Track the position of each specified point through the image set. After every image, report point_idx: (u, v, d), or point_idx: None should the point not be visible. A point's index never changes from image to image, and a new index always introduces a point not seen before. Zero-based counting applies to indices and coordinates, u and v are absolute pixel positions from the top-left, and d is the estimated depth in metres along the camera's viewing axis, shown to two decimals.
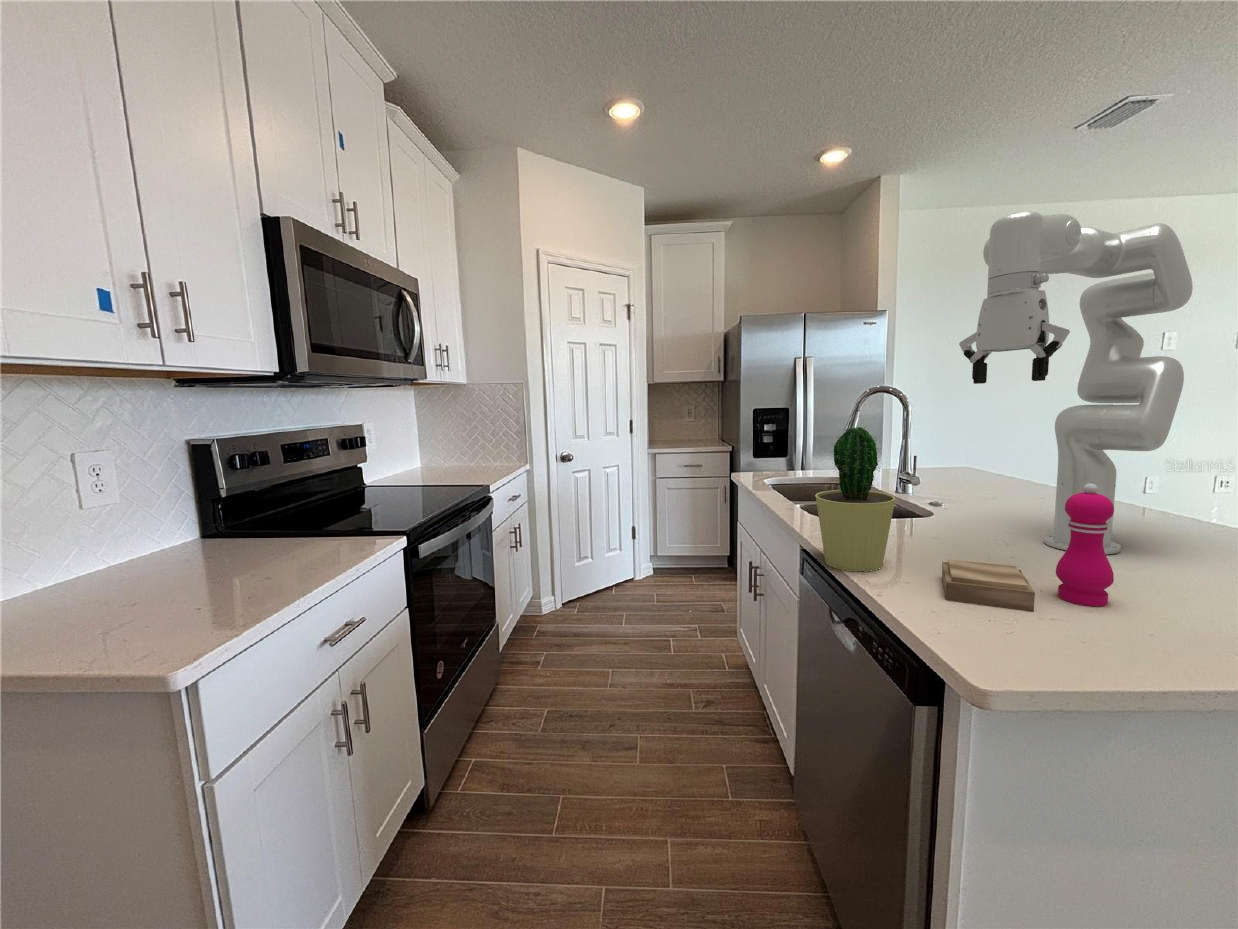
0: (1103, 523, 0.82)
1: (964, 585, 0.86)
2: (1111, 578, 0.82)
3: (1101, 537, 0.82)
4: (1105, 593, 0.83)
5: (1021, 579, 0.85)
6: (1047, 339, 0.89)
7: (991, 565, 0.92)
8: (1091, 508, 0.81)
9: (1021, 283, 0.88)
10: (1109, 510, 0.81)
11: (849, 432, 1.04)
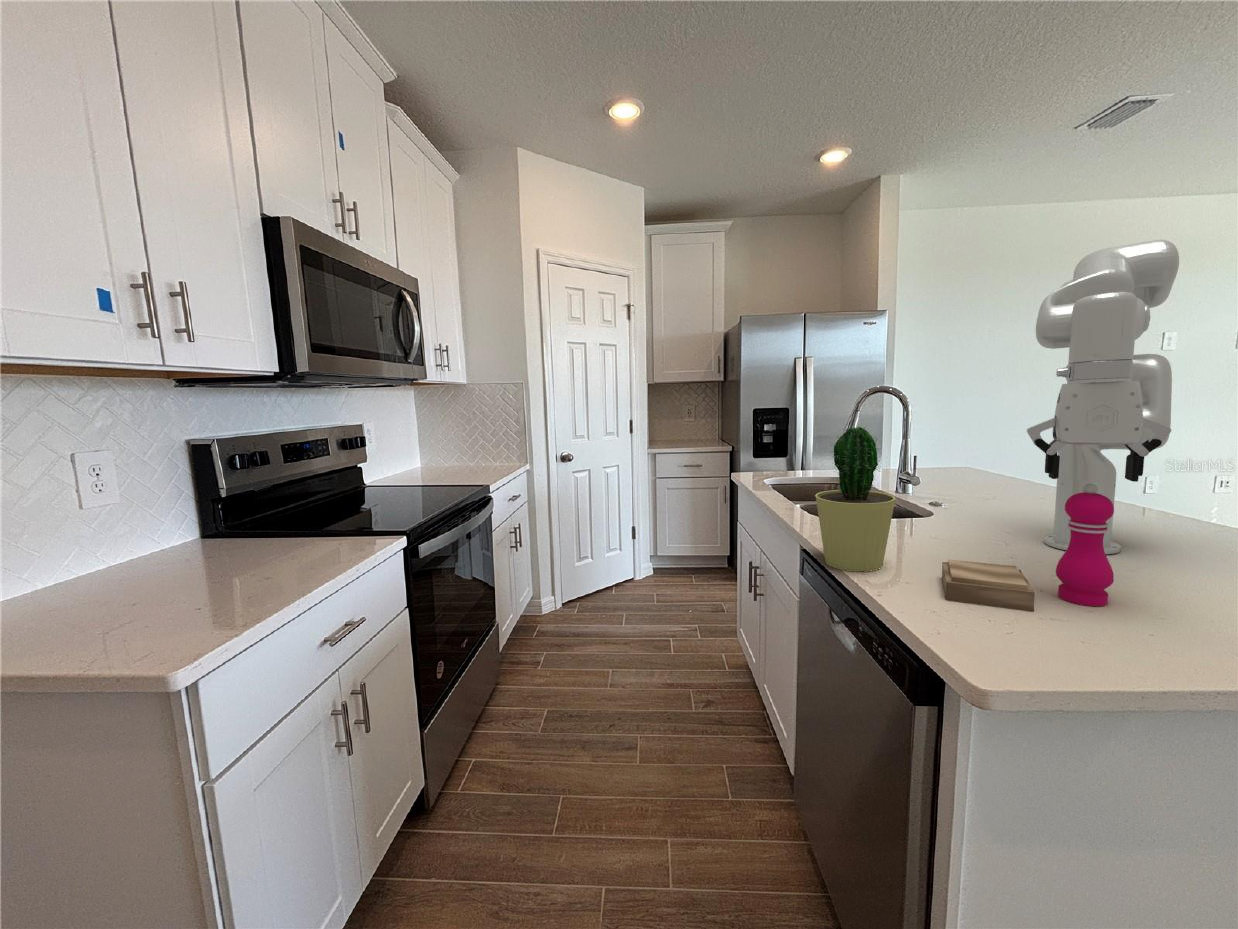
0: (1103, 523, 0.82)
1: (964, 585, 0.86)
2: (1111, 578, 0.82)
3: (1101, 537, 0.82)
4: (1105, 593, 0.83)
5: (1021, 579, 0.85)
6: (1057, 436, 0.83)
7: (991, 565, 0.92)
8: (1091, 508, 0.81)
9: None
10: (1109, 510, 0.81)
11: (849, 432, 1.04)
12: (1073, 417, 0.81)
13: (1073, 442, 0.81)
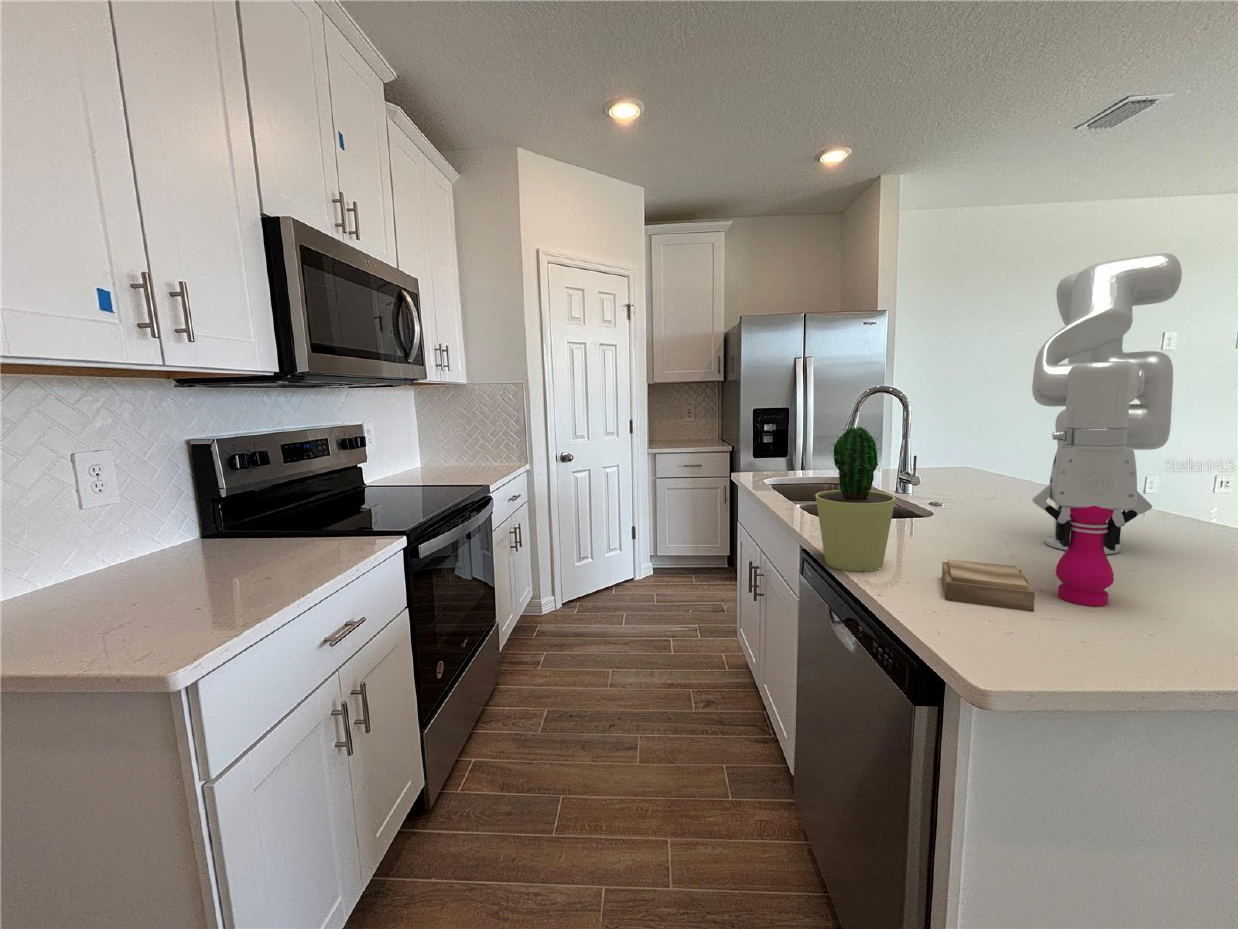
0: (1103, 523, 0.82)
1: (964, 585, 0.86)
2: (1111, 578, 0.82)
3: (1101, 537, 0.82)
4: (1105, 593, 0.83)
5: (1021, 579, 0.85)
6: (1053, 498, 0.84)
7: (991, 565, 0.92)
8: (1091, 508, 0.81)
9: None
10: (1109, 510, 0.81)
11: (849, 432, 1.04)
12: (1068, 481, 0.82)
13: (1069, 506, 0.83)
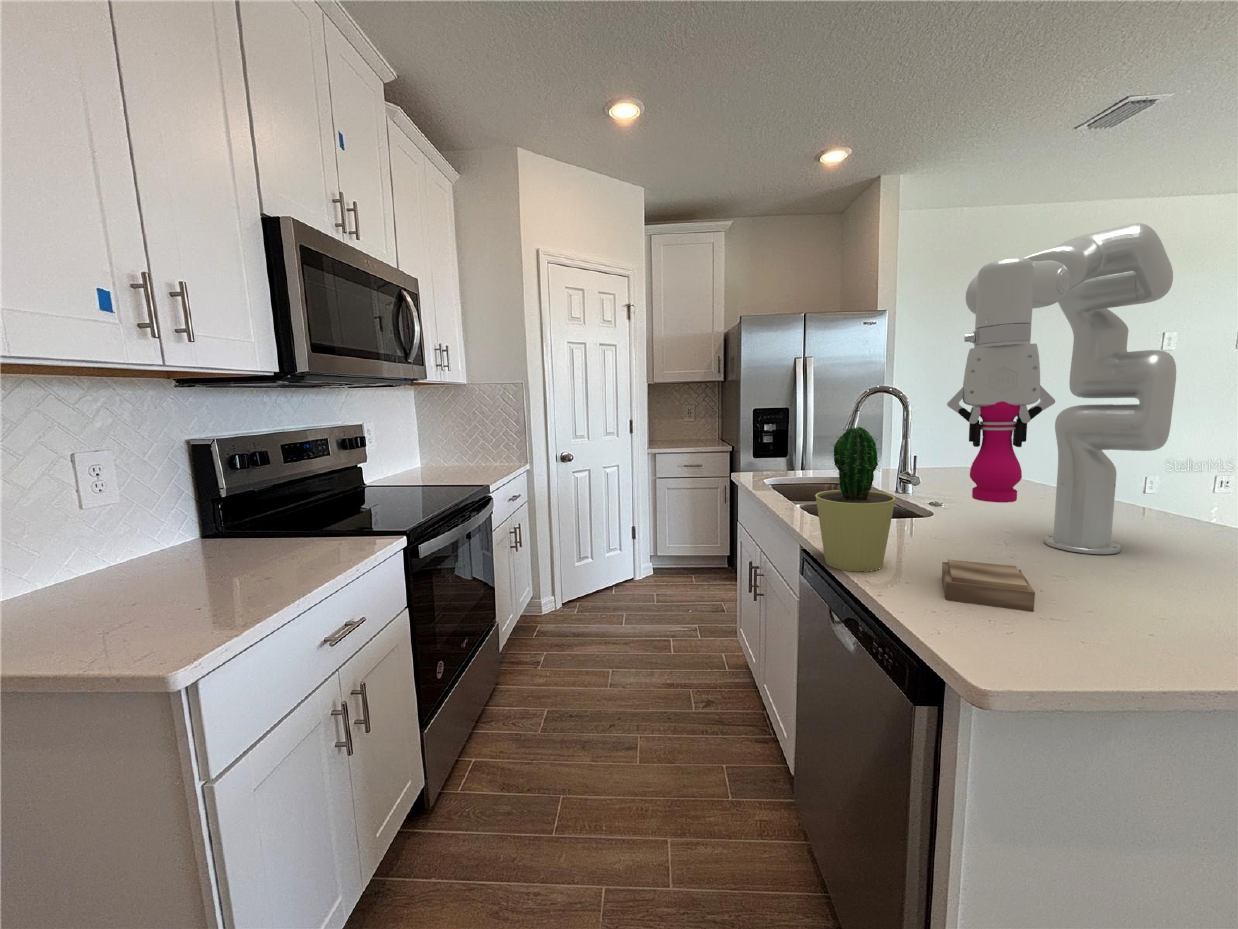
0: (1011, 420, 0.84)
1: (964, 585, 0.86)
2: (1018, 474, 0.84)
3: (1009, 434, 0.84)
4: (1014, 490, 0.85)
5: (1021, 579, 0.85)
6: (964, 399, 0.86)
7: (991, 565, 0.92)
8: (998, 404, 0.83)
9: None
10: (1016, 406, 0.82)
11: (849, 432, 1.04)
12: (977, 380, 0.84)
13: (978, 404, 0.85)
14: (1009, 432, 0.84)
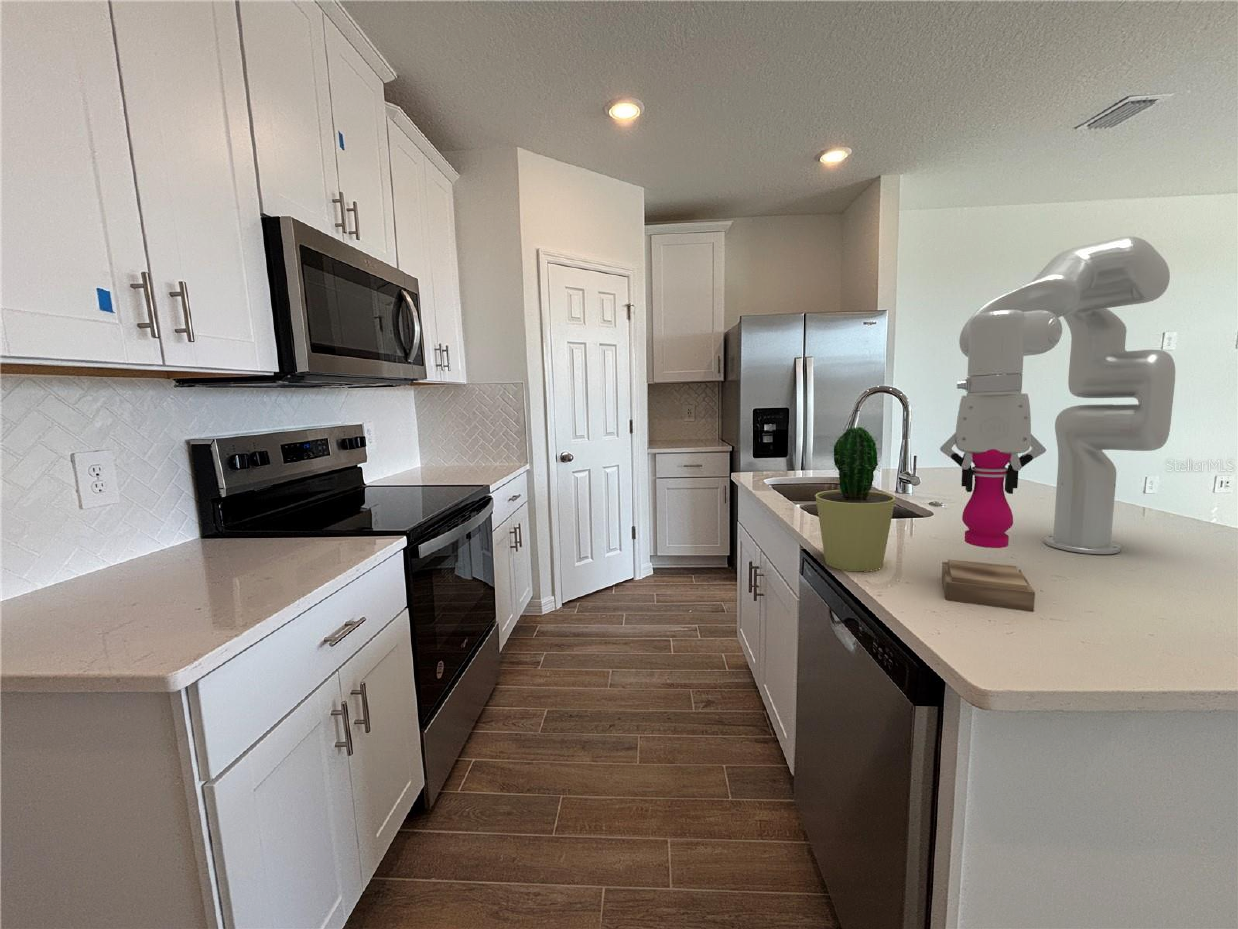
0: (1002, 467, 0.85)
1: (964, 585, 0.86)
2: (1009, 520, 0.85)
3: (1000, 481, 0.85)
4: (1005, 536, 0.86)
5: (1021, 579, 0.85)
6: (956, 445, 0.87)
7: (991, 565, 0.92)
8: (989, 452, 0.84)
9: None
10: (1007, 454, 0.84)
11: (849, 432, 1.04)
12: (969, 427, 0.85)
13: (970, 451, 0.86)
14: (1000, 479, 0.85)
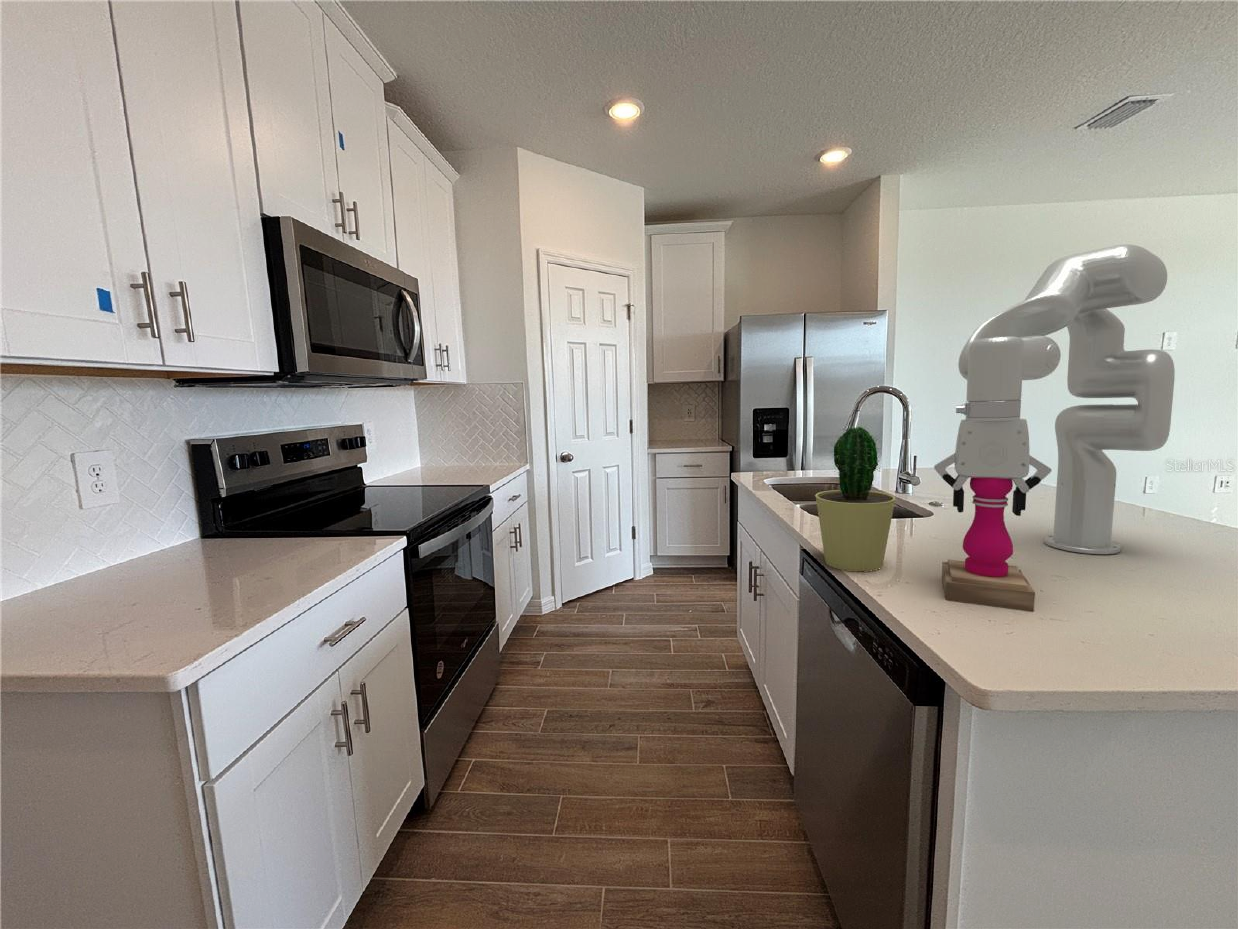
0: (1002, 497, 0.86)
1: (964, 585, 0.86)
2: (1009, 550, 0.86)
3: (1001, 511, 0.86)
4: (1005, 565, 0.87)
5: (1021, 579, 0.85)
6: (955, 469, 0.88)
7: None
8: (990, 483, 0.85)
9: None
10: (1007, 485, 0.84)
11: (849, 432, 1.04)
12: (968, 452, 0.86)
13: (969, 476, 0.86)
14: (1000, 509, 0.86)
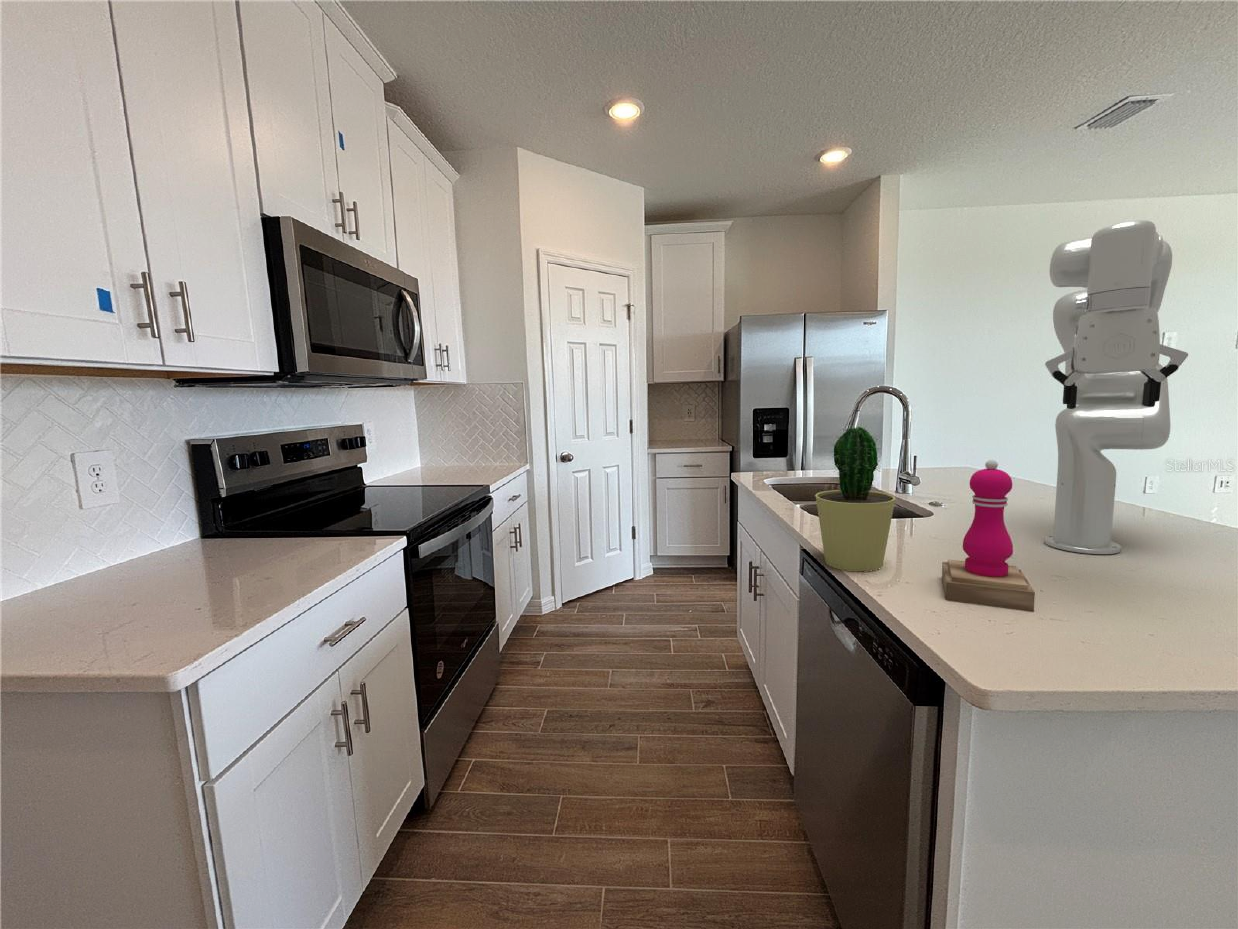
0: (1002, 497, 0.86)
1: (964, 585, 0.86)
2: (1009, 550, 0.86)
3: (1000, 511, 0.86)
4: (1005, 565, 0.87)
5: (1021, 579, 0.85)
6: (1074, 366, 0.86)
7: None
8: (989, 482, 0.85)
9: None
10: (1006, 484, 0.84)
11: (849, 432, 1.04)
12: (1090, 347, 0.84)
13: (1090, 371, 0.84)
14: (1000, 509, 0.86)
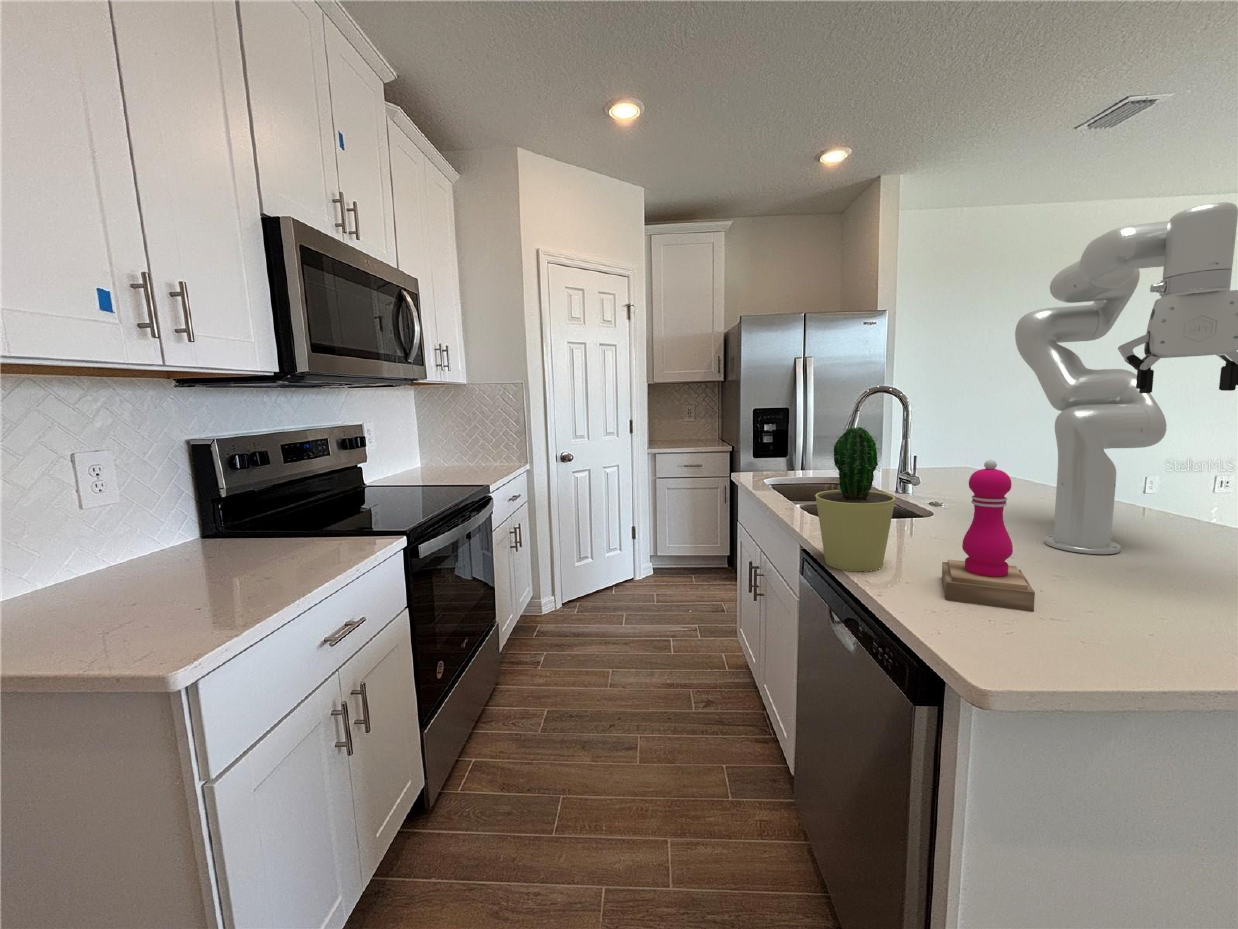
0: (1001, 497, 0.86)
1: (964, 585, 0.86)
2: (1009, 550, 0.86)
3: (1000, 511, 0.86)
4: (1005, 564, 0.87)
5: (1021, 579, 0.85)
6: (1151, 350, 0.85)
7: None
8: (988, 482, 0.85)
9: None
10: (1005, 484, 0.85)
11: (849, 432, 1.04)
12: (1169, 329, 0.83)
13: (1169, 354, 0.83)
14: (1000, 508, 0.86)
